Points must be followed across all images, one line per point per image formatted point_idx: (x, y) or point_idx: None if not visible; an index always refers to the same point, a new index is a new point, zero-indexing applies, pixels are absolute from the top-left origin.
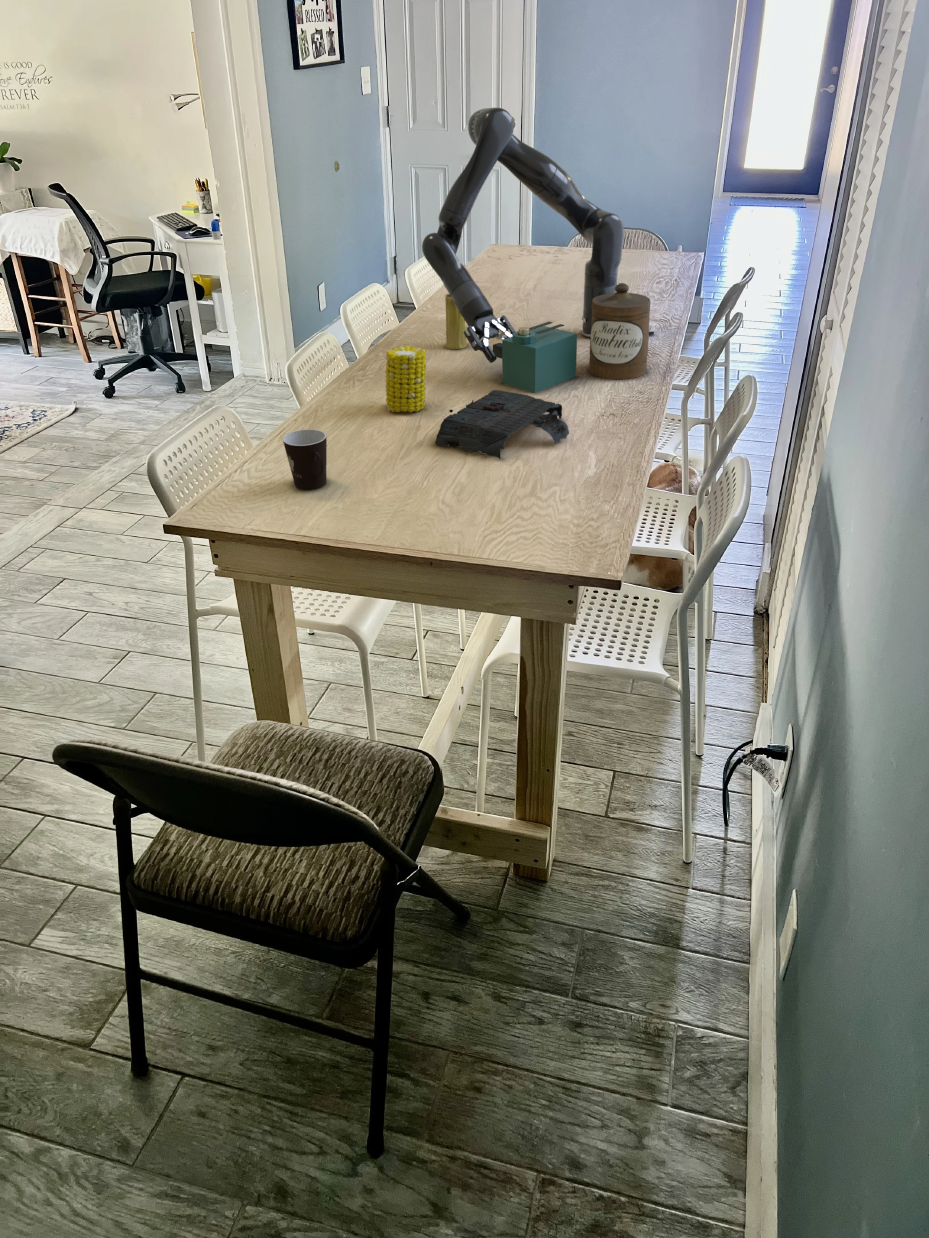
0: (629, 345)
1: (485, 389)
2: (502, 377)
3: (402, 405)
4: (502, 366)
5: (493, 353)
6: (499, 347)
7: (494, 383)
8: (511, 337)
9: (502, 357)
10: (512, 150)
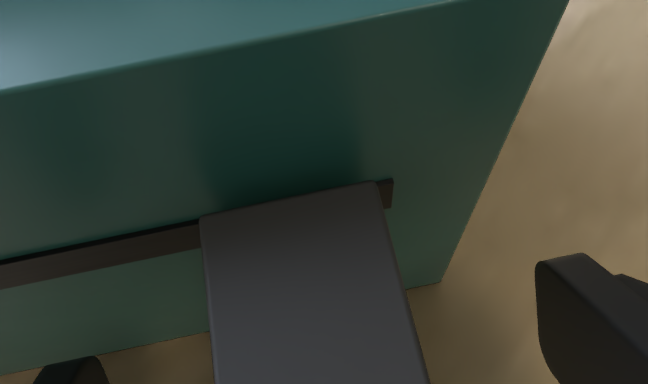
0: None
1: (637, 261)
2: (448, 263)
3: None
4: (467, 220)
5: (595, 293)
6: (422, 361)
7: (492, 344)
8: (279, 7)
9: (491, 167)
10: None
